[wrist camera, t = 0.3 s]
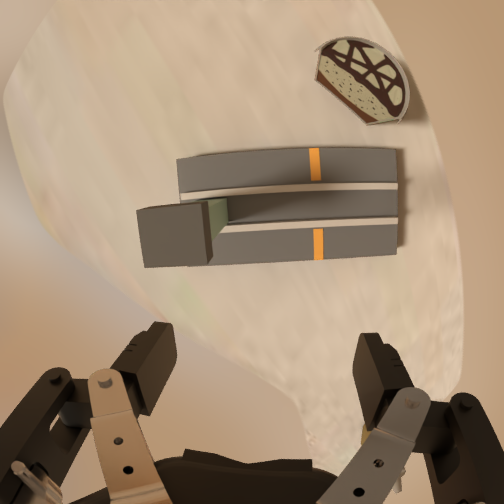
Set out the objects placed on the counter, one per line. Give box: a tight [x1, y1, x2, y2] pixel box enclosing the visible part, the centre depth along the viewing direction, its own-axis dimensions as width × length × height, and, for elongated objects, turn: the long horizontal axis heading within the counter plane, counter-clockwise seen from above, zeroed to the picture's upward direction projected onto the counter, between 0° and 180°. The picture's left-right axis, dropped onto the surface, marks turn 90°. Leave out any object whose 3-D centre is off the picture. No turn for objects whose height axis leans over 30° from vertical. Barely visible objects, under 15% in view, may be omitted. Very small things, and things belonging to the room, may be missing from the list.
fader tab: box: [136, 198, 229, 268], centre depth 28 cm, size 4×5×16 cm
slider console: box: [176, 148, 398, 267], centre depth 36 cm, size 14×28×4 cm, turn 94°
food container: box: [315, 37, 410, 125], centre depth 29 cm, size 12×6×10 cm, turn 50°
